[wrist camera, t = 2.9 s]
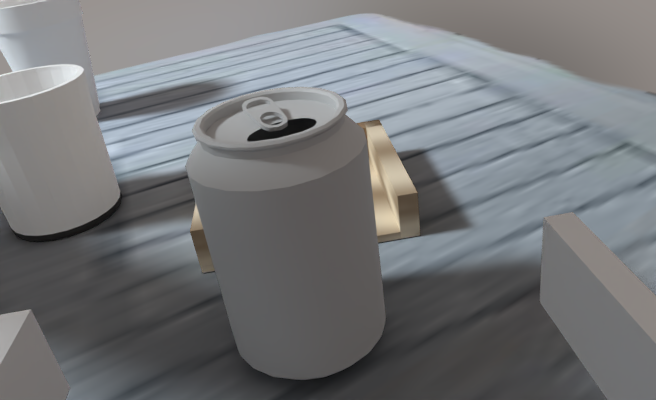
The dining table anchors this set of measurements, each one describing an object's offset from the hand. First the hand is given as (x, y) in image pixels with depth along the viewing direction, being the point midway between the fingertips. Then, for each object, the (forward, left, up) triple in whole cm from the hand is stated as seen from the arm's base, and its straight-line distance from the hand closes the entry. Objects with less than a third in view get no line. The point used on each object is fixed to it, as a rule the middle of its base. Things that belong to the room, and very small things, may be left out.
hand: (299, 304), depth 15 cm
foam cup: (-58, +1, -10) cm, 59 cm away
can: (-9, +4, -10) cm, 14 cm away
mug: (-34, -4, -10) cm, 36 cm away
